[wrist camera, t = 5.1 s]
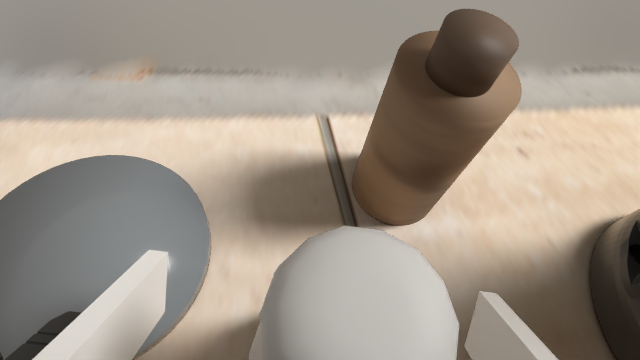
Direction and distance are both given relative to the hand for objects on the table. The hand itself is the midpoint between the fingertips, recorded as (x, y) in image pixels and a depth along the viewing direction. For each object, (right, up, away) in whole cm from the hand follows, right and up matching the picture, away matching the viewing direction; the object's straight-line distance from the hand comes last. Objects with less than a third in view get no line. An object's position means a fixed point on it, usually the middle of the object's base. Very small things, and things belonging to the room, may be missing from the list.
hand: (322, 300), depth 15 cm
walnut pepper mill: (+5, +5, +9) cm, 11 cm away
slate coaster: (-12, +1, +5) cm, 13 cm away
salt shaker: (-1, -4, +3) cm, 5 cm away
